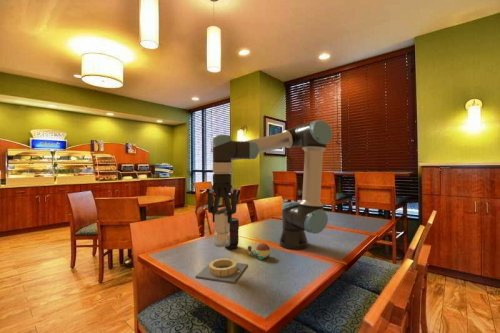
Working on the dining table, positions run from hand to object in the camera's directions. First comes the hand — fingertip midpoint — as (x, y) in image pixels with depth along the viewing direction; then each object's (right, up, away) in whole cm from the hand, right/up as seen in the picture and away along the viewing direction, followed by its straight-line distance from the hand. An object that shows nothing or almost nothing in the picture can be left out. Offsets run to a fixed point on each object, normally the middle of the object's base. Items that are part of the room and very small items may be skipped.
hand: (222, 230), depth 95 cm
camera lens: (+1, -17, +28) cm, 33 cm away
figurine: (+16, -17, +15) cm, 28 cm away
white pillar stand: (0, -6, 0) cm, 6 cm away
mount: (0, -17, 0) cm, 17 cm away
